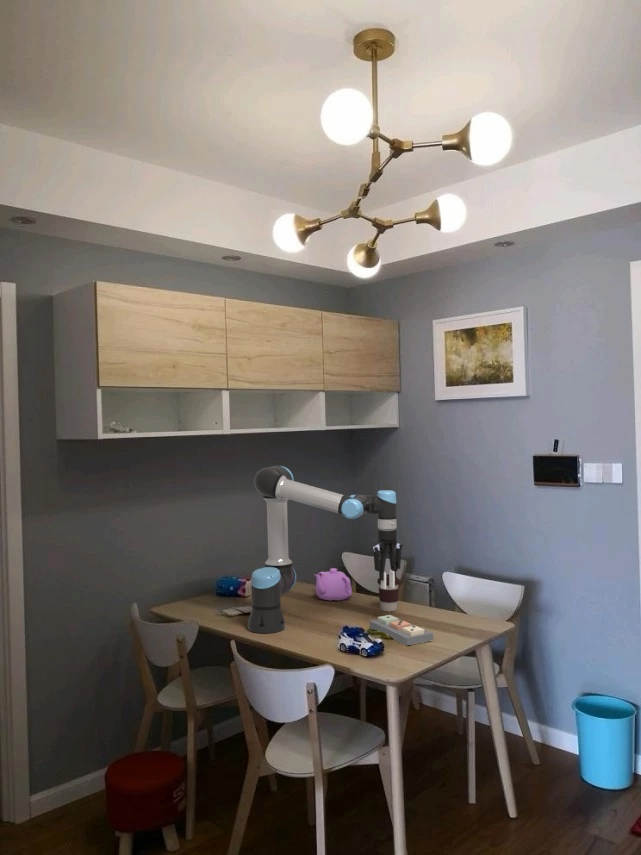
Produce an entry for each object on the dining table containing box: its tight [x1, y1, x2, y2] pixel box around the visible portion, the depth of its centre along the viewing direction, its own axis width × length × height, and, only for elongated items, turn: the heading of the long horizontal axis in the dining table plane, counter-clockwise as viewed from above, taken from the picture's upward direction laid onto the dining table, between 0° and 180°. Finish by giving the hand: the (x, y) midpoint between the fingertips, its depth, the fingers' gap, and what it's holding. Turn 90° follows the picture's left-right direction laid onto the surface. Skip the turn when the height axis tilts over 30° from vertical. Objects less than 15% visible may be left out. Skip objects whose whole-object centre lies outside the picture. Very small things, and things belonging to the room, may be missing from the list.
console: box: [368, 618, 434, 646], centre depth 266 cm, size 12×26×3 cm, turn 28°
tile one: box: [377, 614, 400, 625], centre depth 274 cm, size 6×6×3 cm
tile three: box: [390, 619, 412, 630], centre depth 266 cm, size 6×6×3 cm
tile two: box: [402, 625, 425, 636], centre depth 259 cm, size 6×6×3 cm
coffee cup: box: [376, 574, 401, 613], centre depth 302 cm, size 10×10×15 cm
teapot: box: [313, 567, 353, 601], centre depth 322 cm, size 22×22×14 cm
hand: (387, 587), depth 274 cm, fingers open, 3 cm apart
